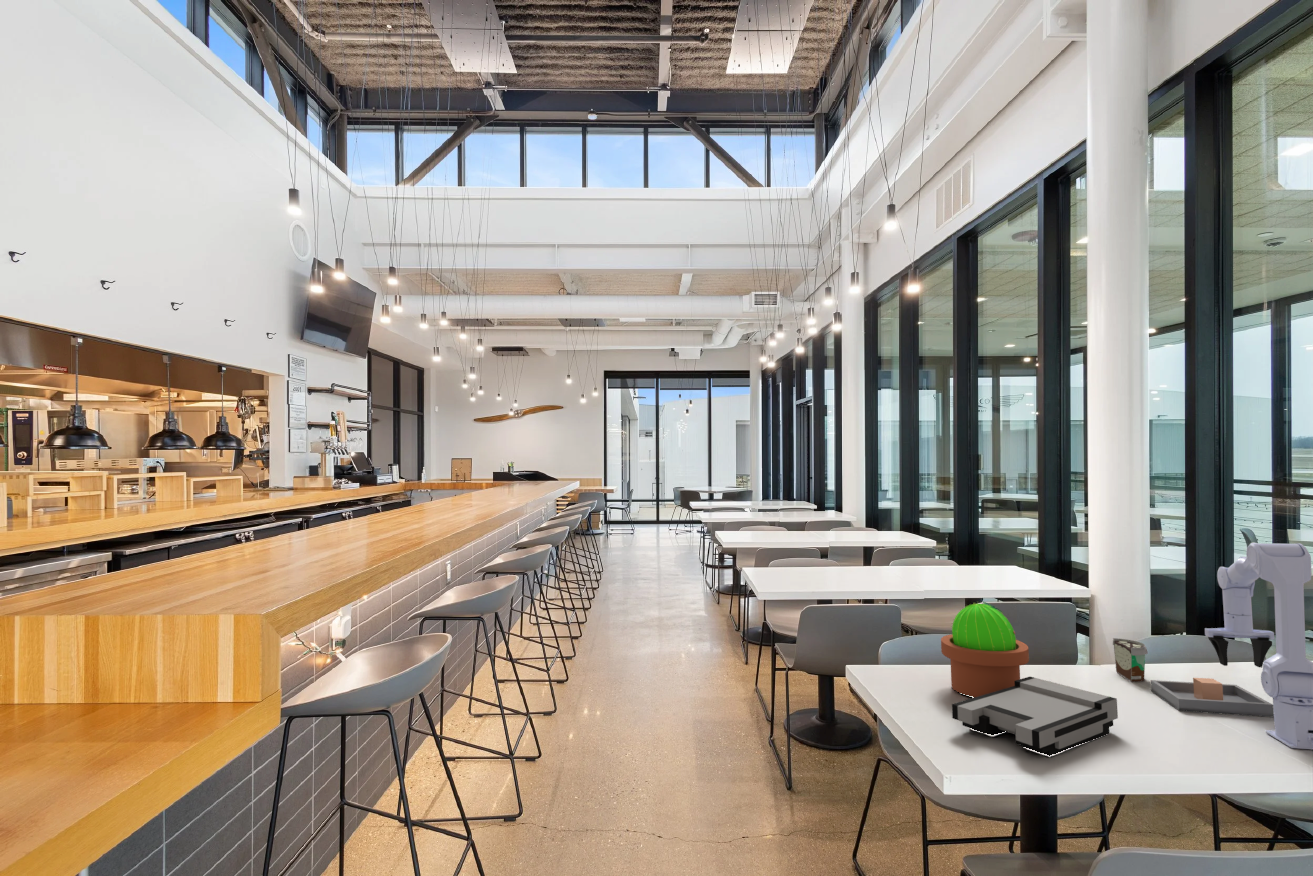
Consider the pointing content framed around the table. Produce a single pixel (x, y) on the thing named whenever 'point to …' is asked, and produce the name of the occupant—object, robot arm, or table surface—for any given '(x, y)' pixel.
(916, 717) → the table surface
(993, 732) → the gray blocky slab
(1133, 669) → the food container
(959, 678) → the potted cactus
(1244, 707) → the bin
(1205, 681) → the terracotta block
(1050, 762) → the table surface
